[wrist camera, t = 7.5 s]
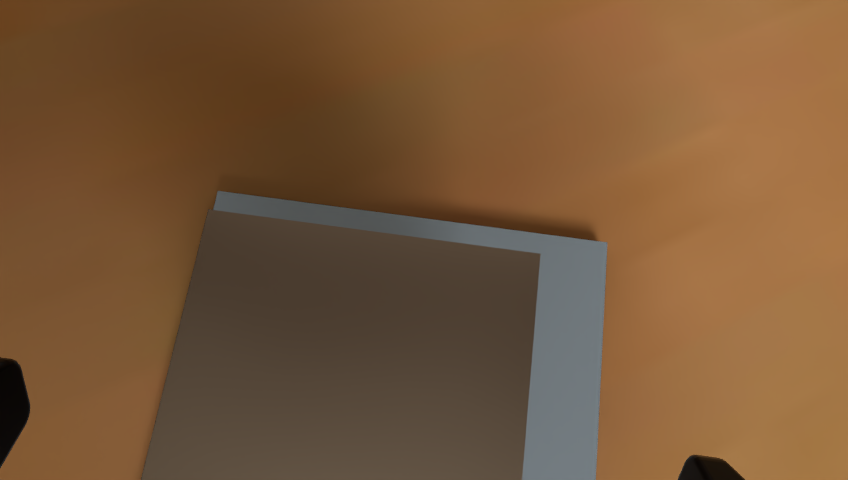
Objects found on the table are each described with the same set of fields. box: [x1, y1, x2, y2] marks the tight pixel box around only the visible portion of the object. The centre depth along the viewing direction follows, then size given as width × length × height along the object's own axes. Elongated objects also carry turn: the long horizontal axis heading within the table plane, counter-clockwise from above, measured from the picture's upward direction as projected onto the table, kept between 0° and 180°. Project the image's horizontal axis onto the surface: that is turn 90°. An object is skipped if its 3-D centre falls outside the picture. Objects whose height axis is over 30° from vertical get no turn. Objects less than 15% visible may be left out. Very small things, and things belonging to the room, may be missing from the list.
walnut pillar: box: [141, 209, 541, 480], centre depth 12 cm, size 4×4×10 cm
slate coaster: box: [213, 191, 607, 480], centre depth 18 cm, size 12×12×1 cm
